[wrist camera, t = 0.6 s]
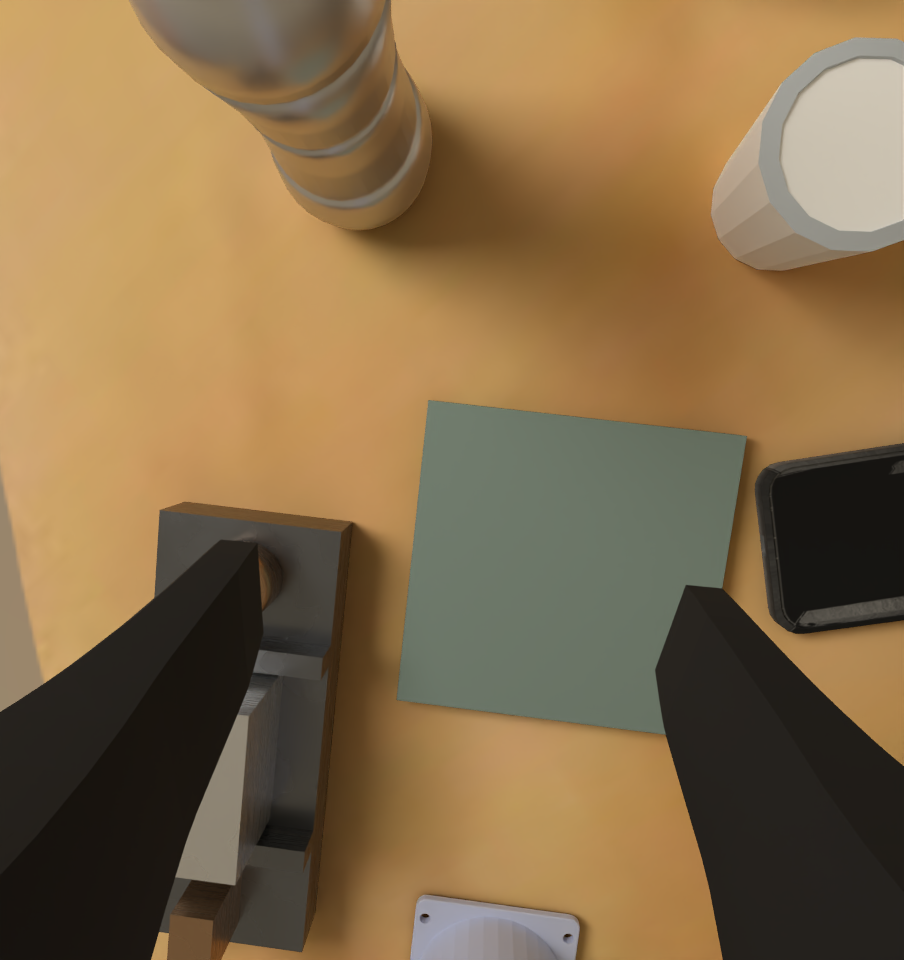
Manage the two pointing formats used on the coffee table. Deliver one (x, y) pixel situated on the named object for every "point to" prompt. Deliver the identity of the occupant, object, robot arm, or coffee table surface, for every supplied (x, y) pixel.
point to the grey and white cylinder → (820, 163)
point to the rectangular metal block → (237, 790)
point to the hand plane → (302, 722)
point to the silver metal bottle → (311, 95)
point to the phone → (833, 539)
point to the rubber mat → (558, 560)
